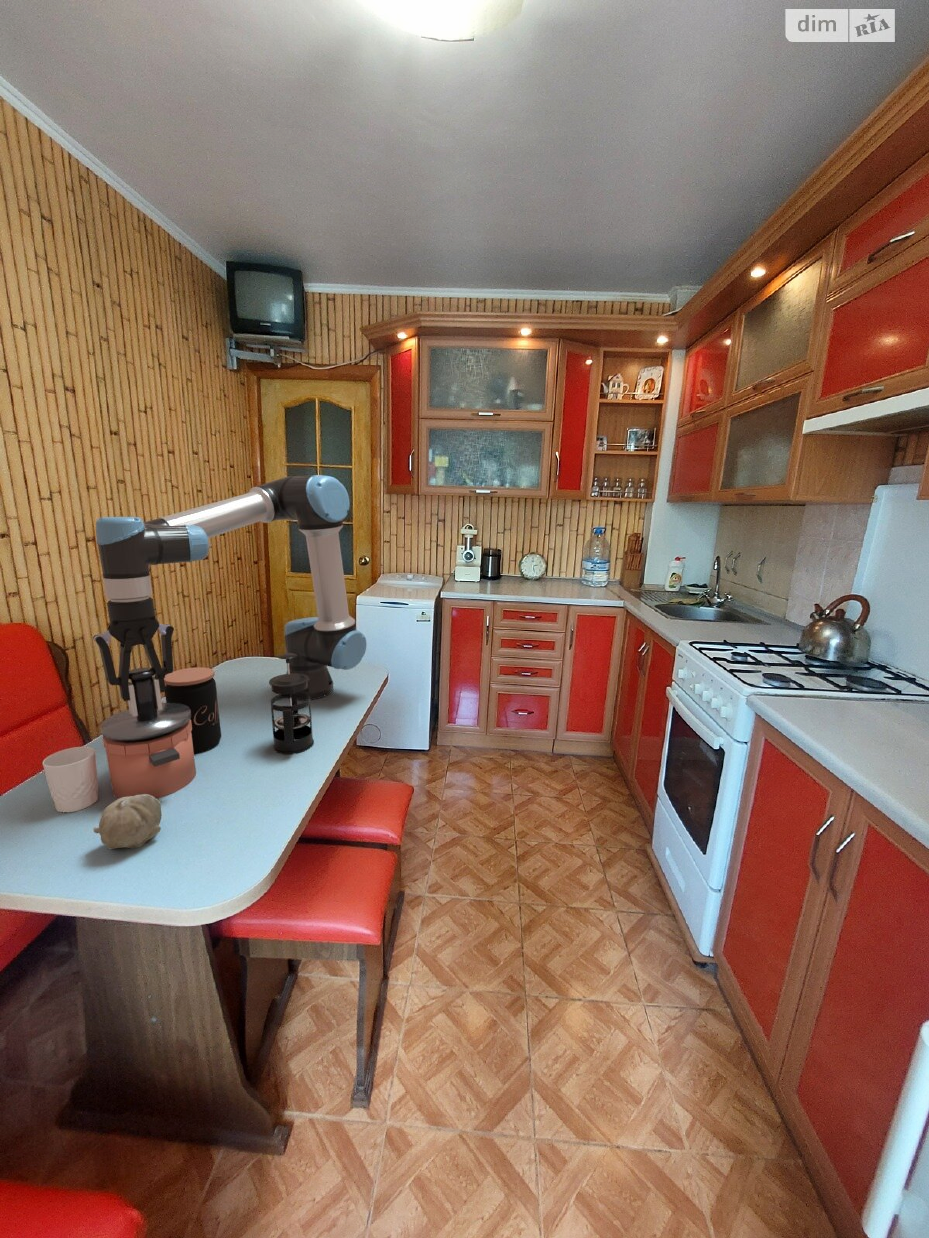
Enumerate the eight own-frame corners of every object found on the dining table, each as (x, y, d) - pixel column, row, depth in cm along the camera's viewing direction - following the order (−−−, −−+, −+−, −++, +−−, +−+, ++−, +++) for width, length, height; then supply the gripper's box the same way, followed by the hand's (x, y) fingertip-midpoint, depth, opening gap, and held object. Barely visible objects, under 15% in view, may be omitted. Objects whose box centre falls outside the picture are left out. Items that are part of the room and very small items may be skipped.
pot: (101, 775, 107) (92, 723, 104) (177, 751, 118) (171, 703, 115) (128, 818, 93) (118, 759, 90) (212, 786, 104) (206, 733, 101)
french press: (277, 736, 126) (270, 649, 121) (316, 733, 128) (310, 647, 122) (268, 759, 115) (260, 664, 109) (311, 756, 116) (305, 662, 111)
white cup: (74, 790, 101) (65, 745, 99) (112, 791, 101) (104, 746, 99) (40, 814, 94) (30, 766, 91) (81, 815, 94) (72, 767, 91)
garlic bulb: (163, 842, 90) (179, 791, 90) (134, 868, 82) (151, 812, 81) (112, 827, 90) (127, 775, 89) (77, 851, 81) (94, 794, 81)
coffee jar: (201, 757, 115) (192, 684, 111) (161, 752, 117) (151, 680, 113) (231, 737, 125) (224, 668, 121) (194, 732, 127) (186, 665, 123)
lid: (177, 708, 113) (170, 654, 111) (203, 730, 103) (196, 671, 100) (94, 730, 102) (84, 670, 100) (113, 756, 92) (103, 691, 89)
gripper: (171, 590, 105) (184, 695, 110) (72, 601, 93) (92, 717, 98) (183, 595, 100) (196, 704, 105) (80, 607, 88) (101, 729, 93)
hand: (146, 710), depth 102 cm, fingers open, 4 cm apart
